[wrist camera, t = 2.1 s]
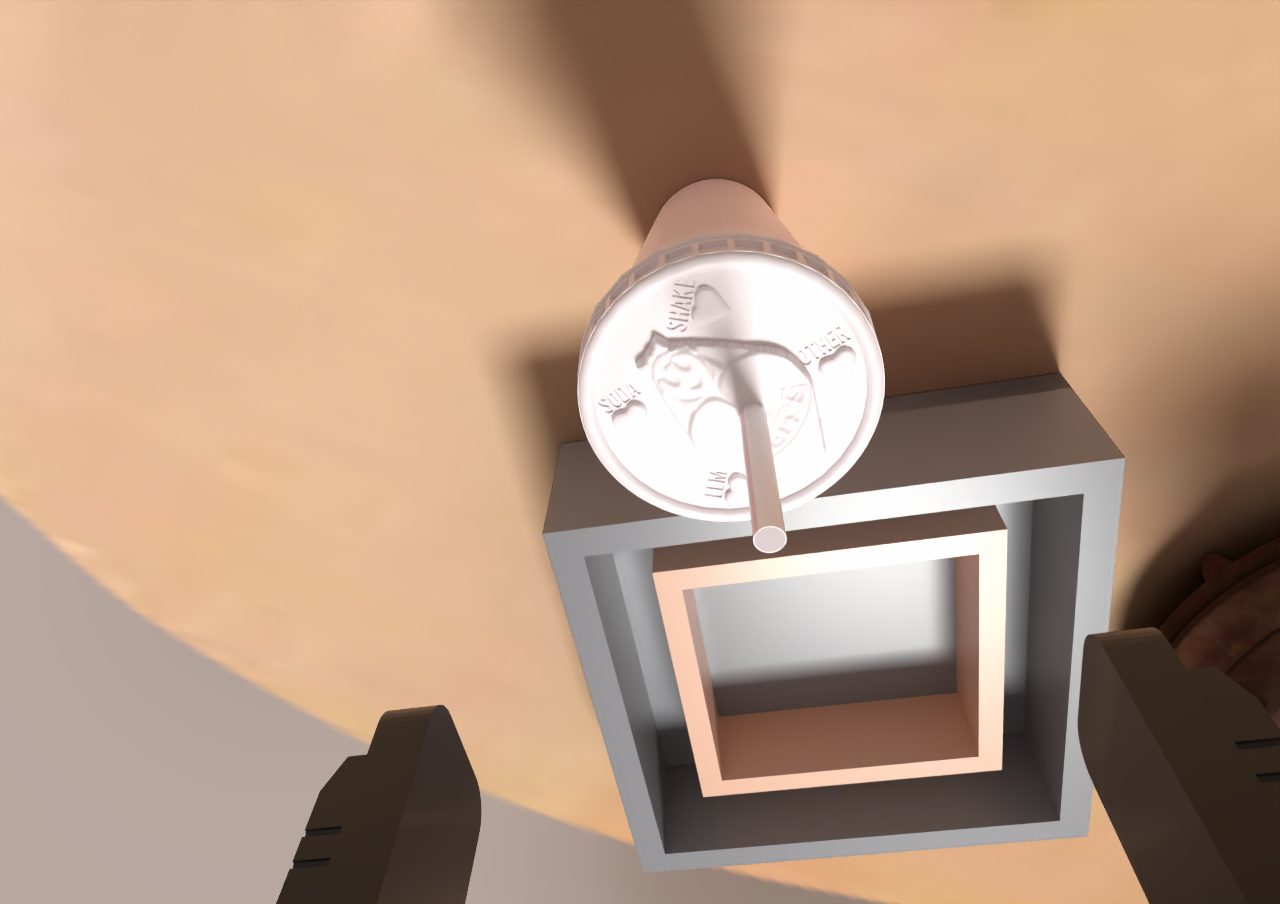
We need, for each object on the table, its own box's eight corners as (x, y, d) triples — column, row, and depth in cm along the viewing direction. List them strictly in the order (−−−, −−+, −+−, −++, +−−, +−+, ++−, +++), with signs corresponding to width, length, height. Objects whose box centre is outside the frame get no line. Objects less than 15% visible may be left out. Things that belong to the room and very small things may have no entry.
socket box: (561, 443, 31) (542, 534, 27) (1060, 373, 29) (1125, 457, 25) (647, 764, 39) (643, 872, 35) (1041, 726, 37) (1087, 836, 33)
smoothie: (743, 376, 30) (787, 714, 18) (566, 276, 28) (482, 572, 16) (870, 205, 27) (1026, 472, 15) (679, 82, 25) (679, 269, 13)
